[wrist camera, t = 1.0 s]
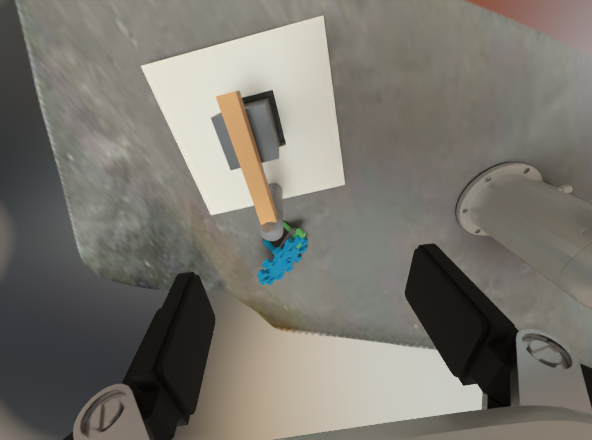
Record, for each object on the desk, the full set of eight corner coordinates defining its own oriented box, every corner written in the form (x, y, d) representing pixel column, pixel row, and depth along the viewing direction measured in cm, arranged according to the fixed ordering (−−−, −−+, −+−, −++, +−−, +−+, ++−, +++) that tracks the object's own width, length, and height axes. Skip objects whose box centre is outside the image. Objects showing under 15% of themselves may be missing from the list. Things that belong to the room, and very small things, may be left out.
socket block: (320, 19, 26) (337, -7, 18) (341, 179, 36) (359, 208, 28) (149, 66, 27) (96, 61, 20) (214, 209, 37) (196, 244, 29)
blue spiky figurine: (287, 282, 44) (251, 294, 35) (267, 260, 46) (229, 266, 37) (323, 235, 41) (293, 235, 32) (299, 214, 43) (265, 209, 34)
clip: (245, 88, 21) (240, 90, 18) (285, 223, 28) (285, 238, 25) (219, 95, 21) (210, 97, 18) (265, 228, 28) (263, 243, 26)
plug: (269, 96, 30) (264, 103, 21) (279, 137, 32) (279, 158, 24) (230, 106, 30) (210, 117, 21) (243, 146, 33) (230, 170, 24)
